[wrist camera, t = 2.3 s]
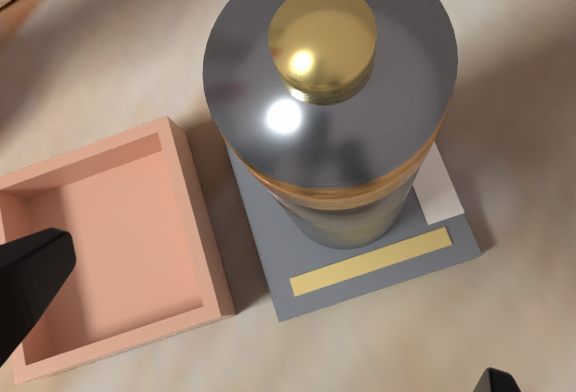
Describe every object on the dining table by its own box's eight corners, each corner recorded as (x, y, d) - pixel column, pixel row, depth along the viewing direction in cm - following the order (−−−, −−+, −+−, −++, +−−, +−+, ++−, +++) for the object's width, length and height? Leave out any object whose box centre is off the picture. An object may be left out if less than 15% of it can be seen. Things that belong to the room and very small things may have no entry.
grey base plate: (282, 321, 21) (278, 322, 20) (227, 141, 24) (222, 135, 23) (477, 257, 21) (482, 255, 20) (402, 78, 23) (404, 69, 22)
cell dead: (306, 267, 21) (226, 213, 8) (271, 158, 22) (155, -31, 10) (423, 228, 21) (523, 110, 8) (379, 119, 22) (407, -128, 9)
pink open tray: (52, 375, 22) (14, 384, 20) (20, 194, 25) (-17, 182, 22) (236, 314, 22) (221, 316, 19) (186, 134, 24) (167, 115, 22)
